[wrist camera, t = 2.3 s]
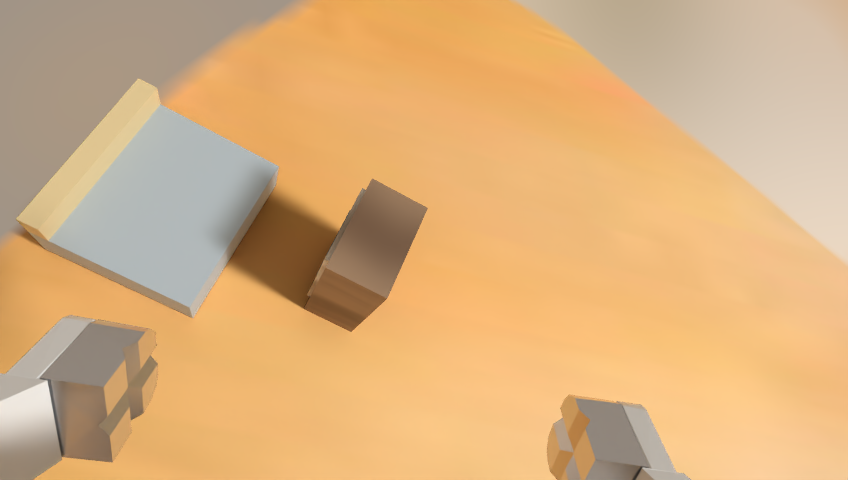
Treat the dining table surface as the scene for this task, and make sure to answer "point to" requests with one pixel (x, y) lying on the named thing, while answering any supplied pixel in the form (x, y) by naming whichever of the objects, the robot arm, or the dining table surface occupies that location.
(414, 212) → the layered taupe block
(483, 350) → the dining table surface
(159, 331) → the dining table surface
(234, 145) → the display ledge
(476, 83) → the dining table surface
